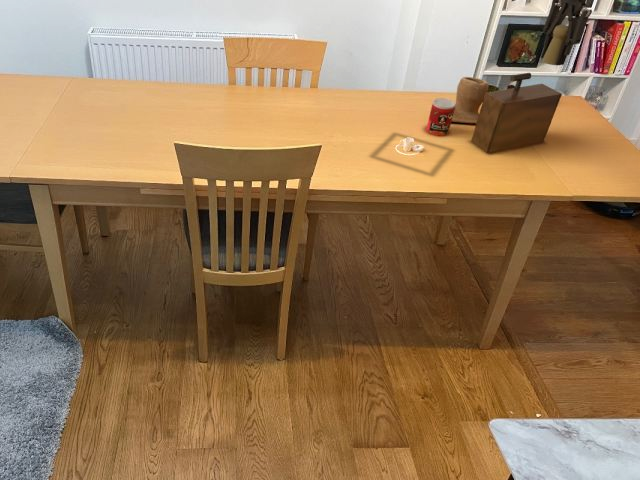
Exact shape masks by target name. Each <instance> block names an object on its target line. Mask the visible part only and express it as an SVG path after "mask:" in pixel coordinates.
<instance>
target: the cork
mask: <svg viewBox="0 0 640 480" xmlns="http://www.w3.org/2000/svg"><path fill="white" fill-rule="evenodd" d="M567 31H568V25H565V24H561V25H558V26H556V27H555V29H554V31H553V36H554V37H553V39H552V41H551V43H550V45H549V47H548V49H547V51H546V53H545V55H544V57H543V58H541V62H542V63H544V64H547V65H551V66H557V65H556V62H557V60H558V57H559V54H560V51H561V49H562V46H563V44H564V43H566V39H567Z"/></svg>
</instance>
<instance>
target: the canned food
mask: <svg viewBox="0 0 640 480" xmlns="http://www.w3.org/2000/svg"><path fill="white" fill-rule="evenodd" d="M455 105H456V101H454V100H452V99H449V98H445V97H439V98H438V97H437V98H435V99H433V101H432V104H431V108H430V112H429V116H428V120H427V125H426V132H427V133H428V134H429V135H432V136H435V137H444V136H447V135H448V134H449V131H450V128H451V124H452V122H451V121H452V117H453V113H454V110H455Z"/></svg>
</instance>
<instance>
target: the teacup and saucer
mask: <svg viewBox="0 0 640 480" xmlns="http://www.w3.org/2000/svg"><path fill="white" fill-rule="evenodd" d="M402 141H403V143H402ZM414 143H415V139H414V138H413V137H405V138H404V139H400V142H399V144H396V146H394V148H395V151H396V152H397V153H399V154H402V155H405V156H415V155H417V154H420V153H421V152H423V151H424V146H423V145H422V144H414ZM400 146H401V148H402V149H403V151H405V152H410V151H411V150H412V151H413V152H415V153H404V152H401V151H400V150H398V147H400Z"/></svg>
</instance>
